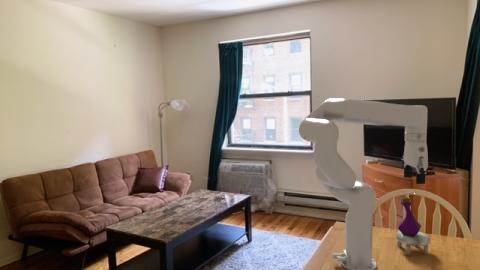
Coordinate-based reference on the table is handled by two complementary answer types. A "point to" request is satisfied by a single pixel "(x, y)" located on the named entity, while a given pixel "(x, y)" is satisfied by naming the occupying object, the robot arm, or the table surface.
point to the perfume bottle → (409, 219)
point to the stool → (413, 241)
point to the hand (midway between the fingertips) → (414, 180)
